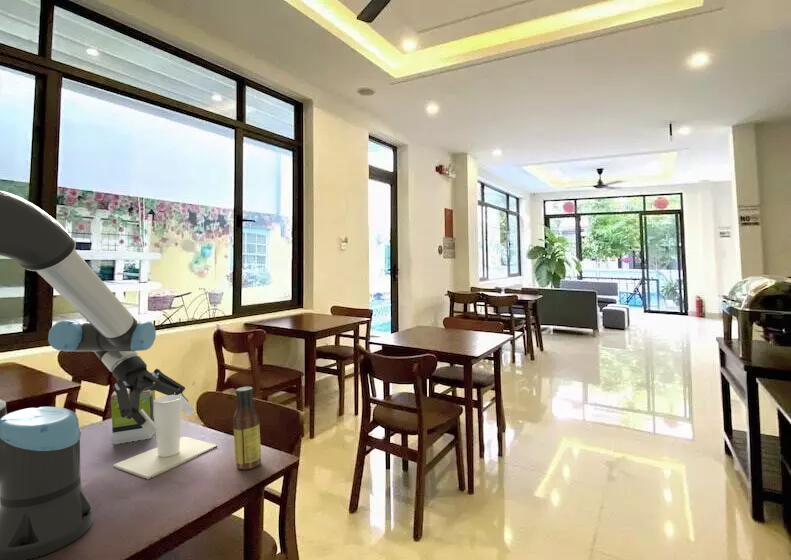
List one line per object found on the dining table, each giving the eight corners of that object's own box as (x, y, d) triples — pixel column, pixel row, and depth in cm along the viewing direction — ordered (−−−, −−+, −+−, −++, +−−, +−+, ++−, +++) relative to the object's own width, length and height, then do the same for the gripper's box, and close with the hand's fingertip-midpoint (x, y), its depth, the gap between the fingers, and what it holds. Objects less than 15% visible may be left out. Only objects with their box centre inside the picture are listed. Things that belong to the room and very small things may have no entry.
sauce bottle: (264, 459, 110) (263, 384, 110) (256, 471, 104) (254, 391, 104) (239, 459, 111) (238, 384, 110) (230, 471, 104) (228, 391, 104)
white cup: (170, 460, 109) (169, 403, 108) (148, 458, 110) (146, 401, 110) (188, 449, 116) (187, 395, 115) (166, 447, 117) (165, 394, 116)
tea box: (120, 427, 134) (119, 381, 133) (157, 422, 138) (155, 377, 137) (111, 445, 120) (110, 394, 119) (152, 439, 124) (151, 389, 124)
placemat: (147, 479, 100) (147, 476, 100) (113, 466, 107) (113, 464, 107) (217, 447, 118) (217, 445, 118) (184, 438, 125) (184, 436, 125)
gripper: (152, 363, 127) (196, 415, 125) (73, 385, 103) (126, 451, 100) (167, 346, 126) (212, 398, 123) (91, 365, 102) (145, 431, 99)
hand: (174, 422), depth 112 cm, fingers open, 13 cm apart
